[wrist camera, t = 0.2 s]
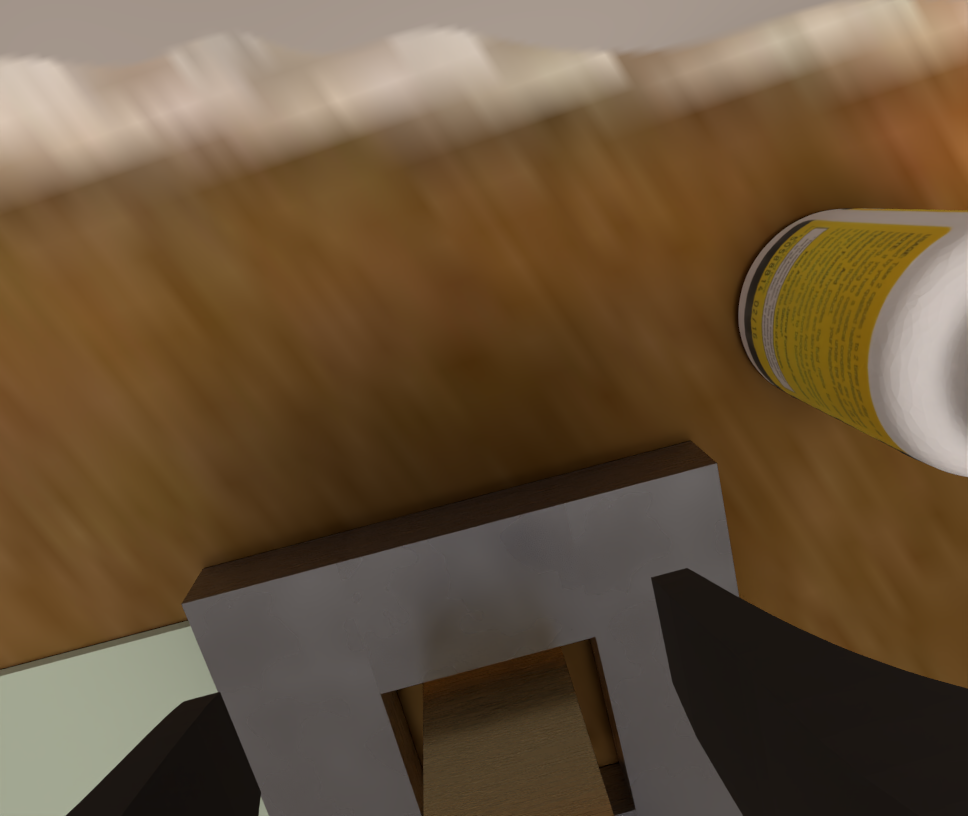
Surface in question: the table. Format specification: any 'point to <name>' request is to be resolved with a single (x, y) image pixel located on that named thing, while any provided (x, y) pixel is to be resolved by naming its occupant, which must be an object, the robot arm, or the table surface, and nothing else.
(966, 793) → the robot arm
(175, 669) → the mat
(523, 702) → the end cover
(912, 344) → the supplement bottle
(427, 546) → the square plate with hole
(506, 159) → the table surface
